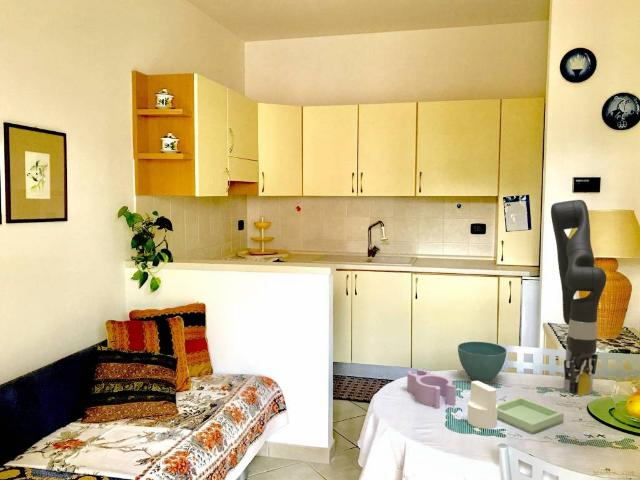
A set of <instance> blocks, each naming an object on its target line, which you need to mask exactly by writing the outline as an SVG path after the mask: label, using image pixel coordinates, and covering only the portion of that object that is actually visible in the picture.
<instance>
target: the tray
mask: <svg viewBox="0 0 640 480" xmlns="http://www.w3.org/2000/svg"><path fill="white" fill-rule="evenodd" d="M496 404H497V403H496ZM497 405H498V412H497V421H501V422H503V423H505V424H507V425H509V426H512V427H515V428H516V429H519V430H522V431H524V432H527V434H530V435H534V434H537V433H540V432H542V431H544V430H547V429H549V428H552V427H554V426H556V425H560V424H562V423H564V412H562V411H559V410H558V409H553V408H551V407H548V406H545V405H543V404H541V403H538V402H535V401H532V400H529V399H527V398H524V397H522V396H518V397H516V398H513V399H510V400H506V401H503V402H501V403H498V404H497Z"/></svg>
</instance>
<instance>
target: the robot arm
mask: <svg viewBox="0 0 640 480" xmlns="http://www.w3.org/2000/svg"><path fill="white" fill-rule="evenodd" d="M550 217H551V223H552V229H553V232H554V238H555V243H556V253H557V263H558V264H557V265H558V273H559V277H560V279H559V280H560V284H561V295H562V317H563V320H564V323H565V324H566V325H568V329H567V331H568V332H567V337H566V340H565V341H566V344H565V359H564V361H563V367H564V368H563V369H564V370H563V371H564V373H563V374H564V379H563V380H564V381H563V382H564V383H563V390H564V391H566V392H568V393H569V394H572V395H574V396H575V395H576V396H577V394H578V380H579V377H580V375H582V372H583V371H584V372H586V373H587V374H588V375H589V377H590V380H591V388H590V390H589V392H588V393H587V394H585V396H586V395H591V394H592V391H593V384H594V383H593V382H594V375H595V374H596V370H597V363H598V358H599V356H598V354H597V353H596V352H597V346H598V345H597V344H598V343H597V342H598V341H597V339H598V322H597V321H598V308H599V303H600V300H601V297H602V294H603V292H604V290H605V287H606V283H607V274H606V272H605V271H604V269H602V268H601V267H597V266H594V265H595V256H594V251H593V249H592V248H593V247H592V242H591V241H592V240H591V224H590V214H589V209H588V206H587V203H586V202H585V200H582V199H573V200H567V201H566V200H565V201H562V202H561V201H560V202H559V201H558V202H555V203H553V204H551V207H550ZM572 229H576V231H575V232H574V233H573V234H572V236H571V237H570V238H569V236H568V235H567V233H566V231H565V230H572ZM577 292H589V294H588V295H587V296H584V297H579V298H575V297H574V296H575V295H576V293H577ZM575 374H576V377H575Z"/></svg>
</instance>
